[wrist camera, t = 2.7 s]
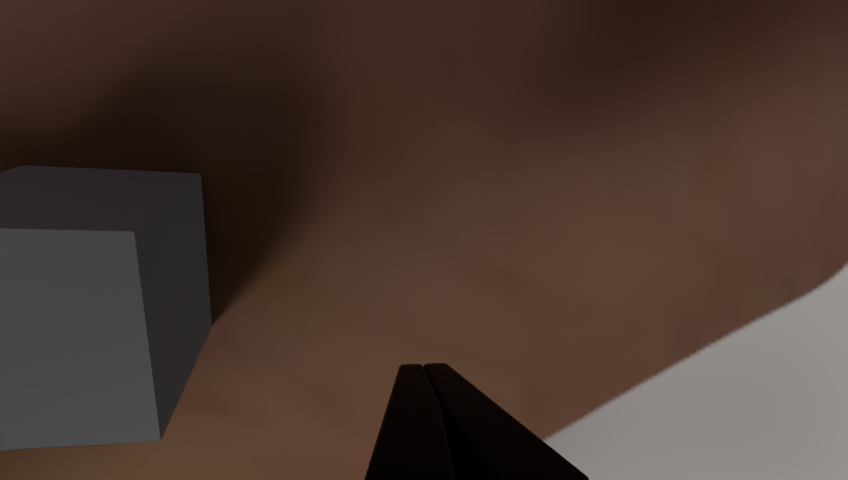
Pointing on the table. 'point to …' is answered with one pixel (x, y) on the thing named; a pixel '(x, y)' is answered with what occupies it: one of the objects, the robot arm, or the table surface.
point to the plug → (98, 302)
